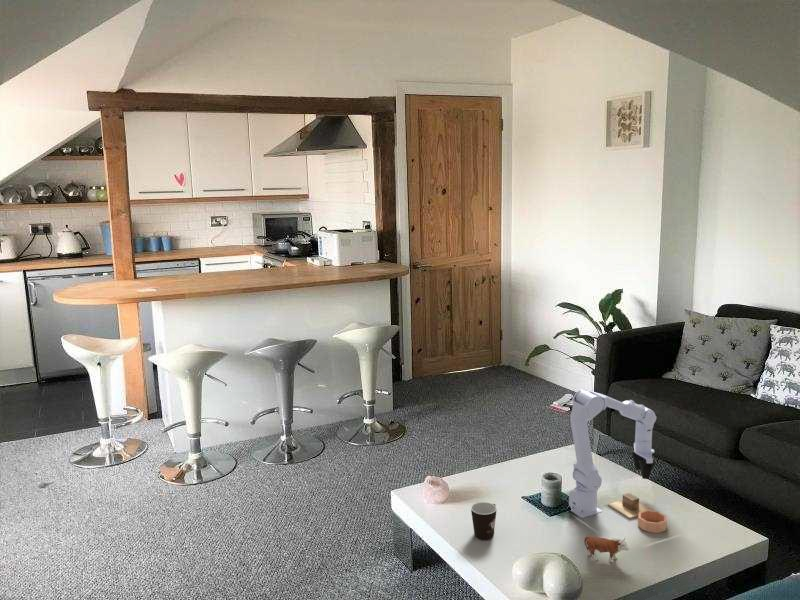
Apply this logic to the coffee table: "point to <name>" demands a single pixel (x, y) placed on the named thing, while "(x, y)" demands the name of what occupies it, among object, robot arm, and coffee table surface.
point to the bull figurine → (605, 546)
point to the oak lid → (629, 506)
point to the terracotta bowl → (652, 521)
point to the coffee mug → (483, 520)
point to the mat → (620, 514)
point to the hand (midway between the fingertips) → (642, 473)
